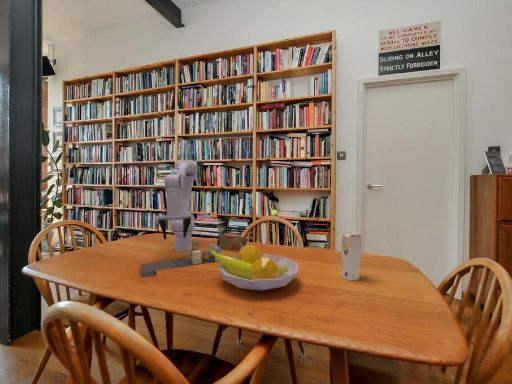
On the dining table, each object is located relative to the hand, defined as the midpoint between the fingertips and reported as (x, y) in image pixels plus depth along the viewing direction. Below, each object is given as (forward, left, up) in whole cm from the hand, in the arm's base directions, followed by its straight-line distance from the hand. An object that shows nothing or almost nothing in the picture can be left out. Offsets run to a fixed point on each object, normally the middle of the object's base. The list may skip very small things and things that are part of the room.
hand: (174, 237), depth 108 cm
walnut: (+5, +12, -9) cm, 15 cm away
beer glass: (+42, +53, -11) cm, 68 cm away
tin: (-4, +26, -11) cm, 28 cm away
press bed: (+5, +2, -10) cm, 12 cm away
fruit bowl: (+31, +21, -11) cm, 39 cm away
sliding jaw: (+5, +7, -9) cm, 12 cm away
